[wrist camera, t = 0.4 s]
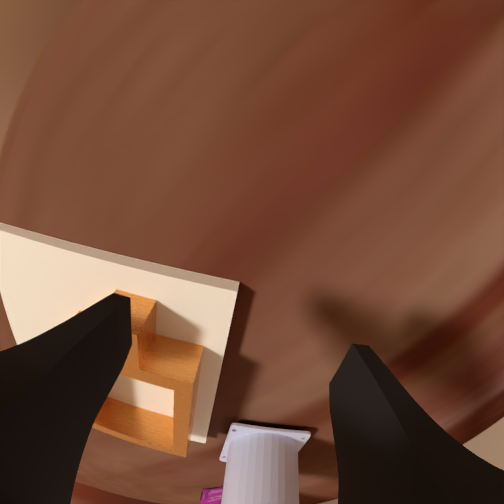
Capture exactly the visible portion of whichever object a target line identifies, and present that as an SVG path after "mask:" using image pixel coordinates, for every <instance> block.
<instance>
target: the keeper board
mask: <svg viewBox="0 0 504 504" xmlns="http://www.w3.org/2000/svg"><path fill="white" fill-rule="evenodd" d="M238 287H239V282H238V281H233V280H229V279H224V278H219V277H215V276H210V275H206V274H201V273H197V272H192V271H188V270H183V269H179V268H175V267H170V266H166V265H162V264H157V263H153V262H149V261H145V260H141V259H136V258H132V257H128V256H124V255H120V254H116V253H112V252H108V251H104V250H100V249H96V248H92V247H88V246H84V245H81V244H77V243H73V242H69V241H65V240H62V239H58V238H54V237H51V236H47V235H43V234H40V233H36V232H32V231H29V230H25V229H22V228H18V227H15V226H11V225H8V224H4V223H1V222H0V292H1V296H2V300H3V303H4V306H5V310H6V313H7V316H8V319H9V322H10V325H11V328H12V331H13V334H14V337H15V340H16V342H17V345H19V344H21V343H23V342H26V341H28V340H30V339H32V338H34V337H36V336H38V335H40V334H42V333H44V332H46V331H48V330H50V329H51V328H53V327H55V326H57V325H59V324H61V323H63V322H65V321H66V320H68V319H70V318H71V317H73V316H75V315H76V314H77V313H78V311H79V310H81V311H83V310H85V309H87V308H88V307H90V306H92V305H93V304H95V303H97V302H98V301H100V300H102V299H103V298H105V297H107V296H109V295H111V294H112V293H114V291H115V290H116V289H117V290H121V291H124V292H128V293H132V294H135V295H139V296H143V297H147V298H150V299H154V300H157V311H156V334H158V335H162V336H166V337H170V338H174V339H178V340H182V341H186V342H190V343H194V344H198V345H203V346H204V348H203V355H202V362H201V369H200V376H199V384H198V391H197V399H196V406H195V414H194V422H193V429H192V434H191V438H190V440H192V441H197V442H202V443H205V442H206V438H207V433H208V428H209V423H210V418H211V414H212V409H213V404H214V400H215V395H216V390H217V385H218V381H219V376H220V371H221V367H222V362H223V357H224V353H225V348H226V343H227V339H228V334H229V329H230V325H231V320H232V315H233V311H234V306H235V301H236V297H237V292H238ZM108 397H110V398H113V399H116V400H118V401H121V402H124V403H127V404H130V405H133V406H136V407H140V408H143V409H146V410H149V411H153V412H156V413H160V414H163V415H167V416H171V417H173V408H174V390H171V389H167V388H163V387H160V386H156V385H153V384H149V383H146V382H142V381H139V380H136V379H133V378H130V377H127V376H124V375H121V374H119V376H118V378H117V380H116V382H115V384H114V386H113V387H112V389H111V391H110V393H109V395H108Z"/></svg>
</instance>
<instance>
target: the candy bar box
mask: <svg viewBox="0 0 504 504" xmlns="http://www.w3.org/2000/svg"><path fill="white" fill-rule="evenodd" d="M222 493H223V487H218V488H210V489H203V490H202V493H201V498H200V503H199V504H221V501H222Z"/></svg>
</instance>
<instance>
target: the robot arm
mask: <svg viewBox="0 0 504 504" xmlns="http://www.w3.org/2000/svg"><path fill="white" fill-rule="evenodd" d="M131 346H132V328H131V298H130V297H127V296H123V295H120V294H117V293H112V294H111V295H109V296H107V297H105V298H103V299H102V300H100V301H98V302H97V303H95V304H93V305H92V306H90V307H88V308H87V309H85V310H83V311H82V312H80V313H78V314H76V315H75V316H73V317H71V318H70V319H68V320H66V321H65V322H63V323H61V324H59V325H57V326H55V327H53V328H51V329H50V330H48V331H46V332H44V333H42V334H40V335H38V336H36V337H34V338H32V339H30V340H28V341H26V342H23V343H21V344H19V345H16V346H14V347H11V348H9V349H6V350H3V351H0V504H70V502H71V496H72V491H73V487H74V483H75V479H76V474H77V471H78V467H79V464H80V460H81V457H82V454H83V451H84V448H85V445H86V442H87V439H88V436H89V433H90V431H91V428H92V426H93V424H94V421H95V419H96V417H97V415H98V413H99V412H100V410H101V408H102V406H103V404H104V402H105V400H106V398H107V397H108V395H109V393H110V391H111V389H112V387H113V386H114V384H115V382H116V380H117V378H118V376H119V374H120V373H121V371H122V369H123V366H124V364H125V361H126V359H127V357H128V354H129V351H130V349H131ZM329 393H330V414H331V421H332V428H333V435H334V441H335V448H336V455H337V462H338V474H339V492H338V504H504V471H503V470H502V469H499V468H497V467H495V466H493V465H492V464H490V463H488V462H486V461H485V460H483V459H481V458H480V457H478V456H477V455H475V454H474V453H472V452H471V451H469V450H468V449H466V448H465V447H464V446H463V445H461V444H460V443H459V442H457V441H456V440H455V439H454V438H452V437H451V436H450V435H449V434H448V433H447V432H446V431H444V430H443V429H442V428H441V427H440V426H439V425H438V424H437V423H436V422H435V421H434V420H433V419H432V418H431V417H430V416H429V415H428V414H427V413H426V412H425V411H424V410H423V409H422V408H421V407H420V406H419V405H418V403H417V402H416V401H415V400H414V399H413V398H412V397H411V396H410V394H409V393H408V392H407V391H406V390H405V389H404V387H403V386H402V385H401V384H400V383H399V381H398V380H397V379H396V378H395V376H394V375H393V374H392V373H391V372H390V370H389V369H388V368H387V367H386V365H385V364H384V363H383V362H382V361H381V359H380V358H379V357H378V356H377V355H376V354H375V352H374V351H373V350H372V349H371V348H370V347H369V346H367V345H359V344H352V345H351V347H350V349H349V350H348V352H347V354H346V356H345V358H344V360H343V361H342V363H341V365H340V367H339V368H338V370H337V372H336V374H335V375H334V377H333V379H332V380H331V382H330V384H329ZM310 436H311V432H309V431H300V430H288V429H278V428H270V427H262V426H254V425H248V424H241V423H232V424H231V425H230V428H229V431H228V434H227V437H226V440H225V443H224V446H223V449H222V452H221V455H220V460H221V461H223V462H227V463H226V470H225V478H224V486H223V493H222V501H221V504H299V475H298V452H299V451H300V449H301V448H302V447H303V446H304V444H305V443H306V442H307V440H308V439H309V438H310Z"/></svg>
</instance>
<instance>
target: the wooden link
mask: <svg viewBox="0 0 504 504" xmlns="http://www.w3.org/2000/svg"><path fill="white" fill-rule="evenodd" d="M114 293H117V294H120V295H123V296H127V297H130V298H131V328H132V346H131V349H130V351H129V354H128V357H127V359H126V361H125V364H124V366H123V369H122V371H121V373H120V374H121V375H124V376H127V377H130V378H133V379H136V380H139V381H142V382H146V383H149V384H153V385H156V386H160V387H163V388H167V389H171V390H174V408H173V417H171V416H167V415H163V414H160V413H156V412H153V411H149V410H146V409H143V408H140V407H136V406H133V405H130V404H127V403H124V402H121V401H118V400H116V399H113V398H110V397H107V398H106V400H105V402H104V404H103V406H102V408H101V410H100V412H99V413H98V415H97V417H96V419H95V421H94V424H93V426H92V428H95V429H97V430H100V431H102V432H105V433H108V434H110V435H113V436H116V437H118V438H121V439H124V440H127V441H130V442H133V443H136V444H139V445H142V446H145V447H149V448H152V449H155V450H159V451H163V452H166V453H170V454H174V455H178V456H182V457H186V456H187V451H188V447H189V442H190V438H191V434H192V429H193V422H194V414H195V406H196V399H197V391H198V384H199V376H200V369H201V362H202V355H203V348H204V346H203V345H198V344H194V343H190V342H186V341H182V340H178V339H174V338H170V337H166V336H162V335H158V334H156V311H157V300H154V299H150V298H147V297H143V296H139V295H135V294H132V293H128V292H124V291H121V290H117V289H116V290H115V291H114ZM80 312H82V311H81V310H79V311H78V313H80ZM78 313H77V314H78Z"/></svg>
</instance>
